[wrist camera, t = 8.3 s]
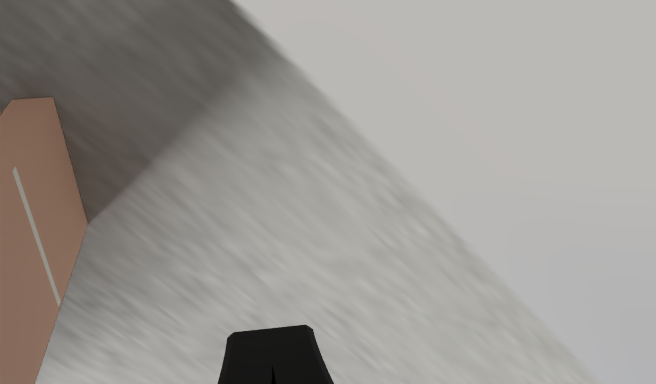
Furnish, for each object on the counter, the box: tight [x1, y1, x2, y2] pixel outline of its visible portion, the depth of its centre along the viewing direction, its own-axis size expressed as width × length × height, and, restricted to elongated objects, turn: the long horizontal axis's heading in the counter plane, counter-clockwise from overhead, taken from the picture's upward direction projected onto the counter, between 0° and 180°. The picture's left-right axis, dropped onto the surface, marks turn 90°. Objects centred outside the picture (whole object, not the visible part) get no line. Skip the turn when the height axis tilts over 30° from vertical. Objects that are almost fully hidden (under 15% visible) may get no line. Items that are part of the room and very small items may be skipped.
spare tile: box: [0, 97, 88, 384], centre depth 14 cm, size 1×4×7 cm, turn 1°
